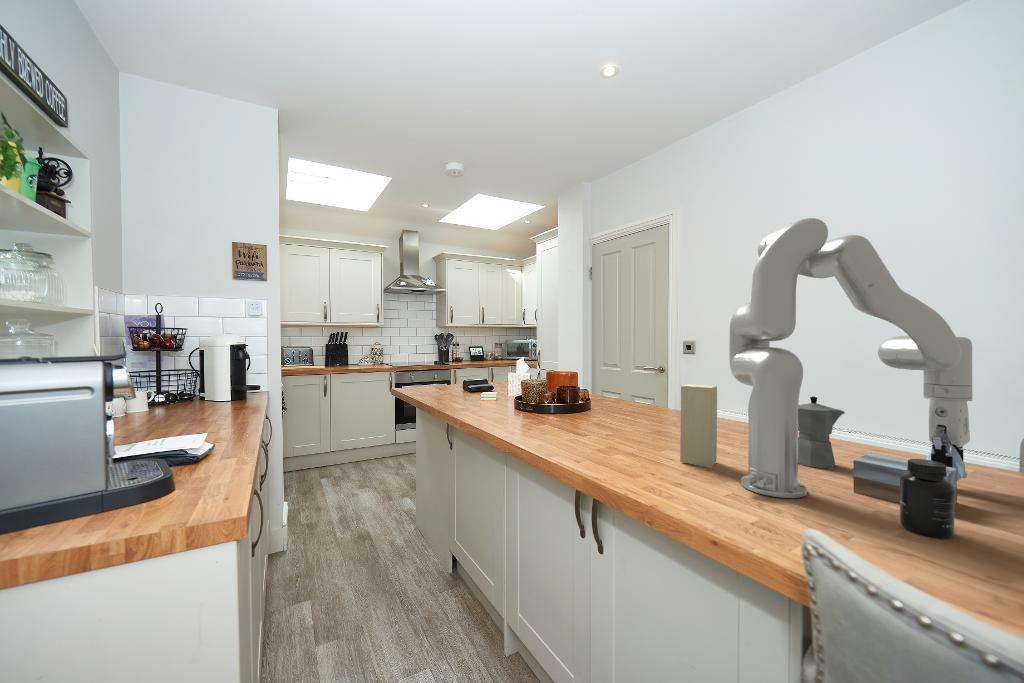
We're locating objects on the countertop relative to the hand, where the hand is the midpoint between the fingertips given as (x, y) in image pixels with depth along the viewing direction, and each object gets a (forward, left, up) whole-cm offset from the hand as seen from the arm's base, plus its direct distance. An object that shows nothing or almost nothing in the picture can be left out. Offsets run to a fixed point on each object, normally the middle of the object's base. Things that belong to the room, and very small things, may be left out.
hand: (947, 469), depth 93 cm
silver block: (-14, +4, -4) cm, 15 cm away
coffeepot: (-2, +26, -5) cm, 26 cm away
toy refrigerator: (-26, +43, -5) cm, 50 cm away
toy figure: (0, +1, -5) cm, 5 cm away
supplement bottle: (-31, -3, -5) cm, 31 cm away
